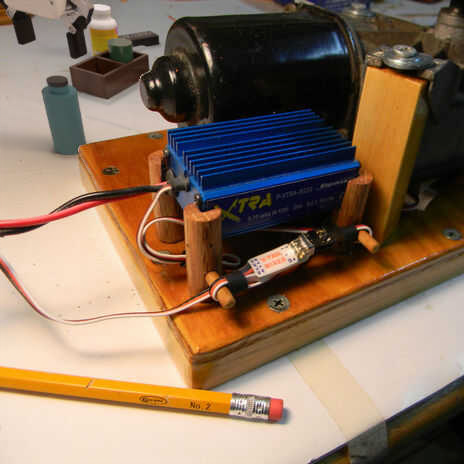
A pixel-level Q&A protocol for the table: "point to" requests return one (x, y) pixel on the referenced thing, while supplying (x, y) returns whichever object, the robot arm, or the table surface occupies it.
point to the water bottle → (63, 115)
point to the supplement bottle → (101, 29)
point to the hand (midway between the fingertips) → (53, 49)
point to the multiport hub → (142, 38)
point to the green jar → (120, 50)
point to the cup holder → (107, 74)
